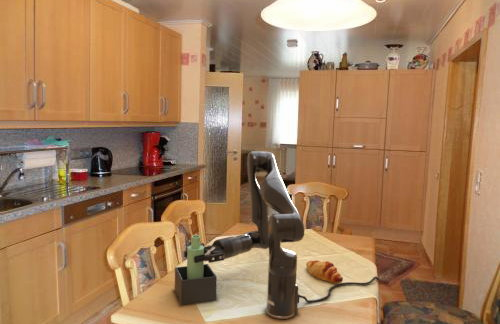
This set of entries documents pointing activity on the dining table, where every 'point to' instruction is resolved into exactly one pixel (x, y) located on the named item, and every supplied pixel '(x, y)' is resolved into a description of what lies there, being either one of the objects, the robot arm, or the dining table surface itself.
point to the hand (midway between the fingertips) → (189, 257)
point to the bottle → (193, 250)
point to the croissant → (324, 271)
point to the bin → (195, 286)
